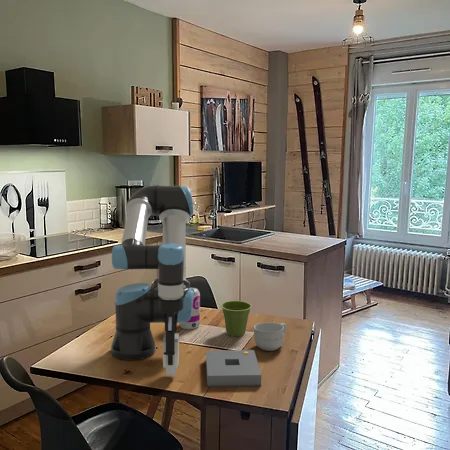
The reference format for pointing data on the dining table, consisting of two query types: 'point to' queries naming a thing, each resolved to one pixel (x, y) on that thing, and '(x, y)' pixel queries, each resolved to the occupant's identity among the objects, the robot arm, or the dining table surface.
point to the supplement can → (193, 313)
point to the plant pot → (236, 316)
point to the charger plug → (175, 352)
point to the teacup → (269, 335)
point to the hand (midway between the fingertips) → (170, 369)
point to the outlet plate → (232, 368)
